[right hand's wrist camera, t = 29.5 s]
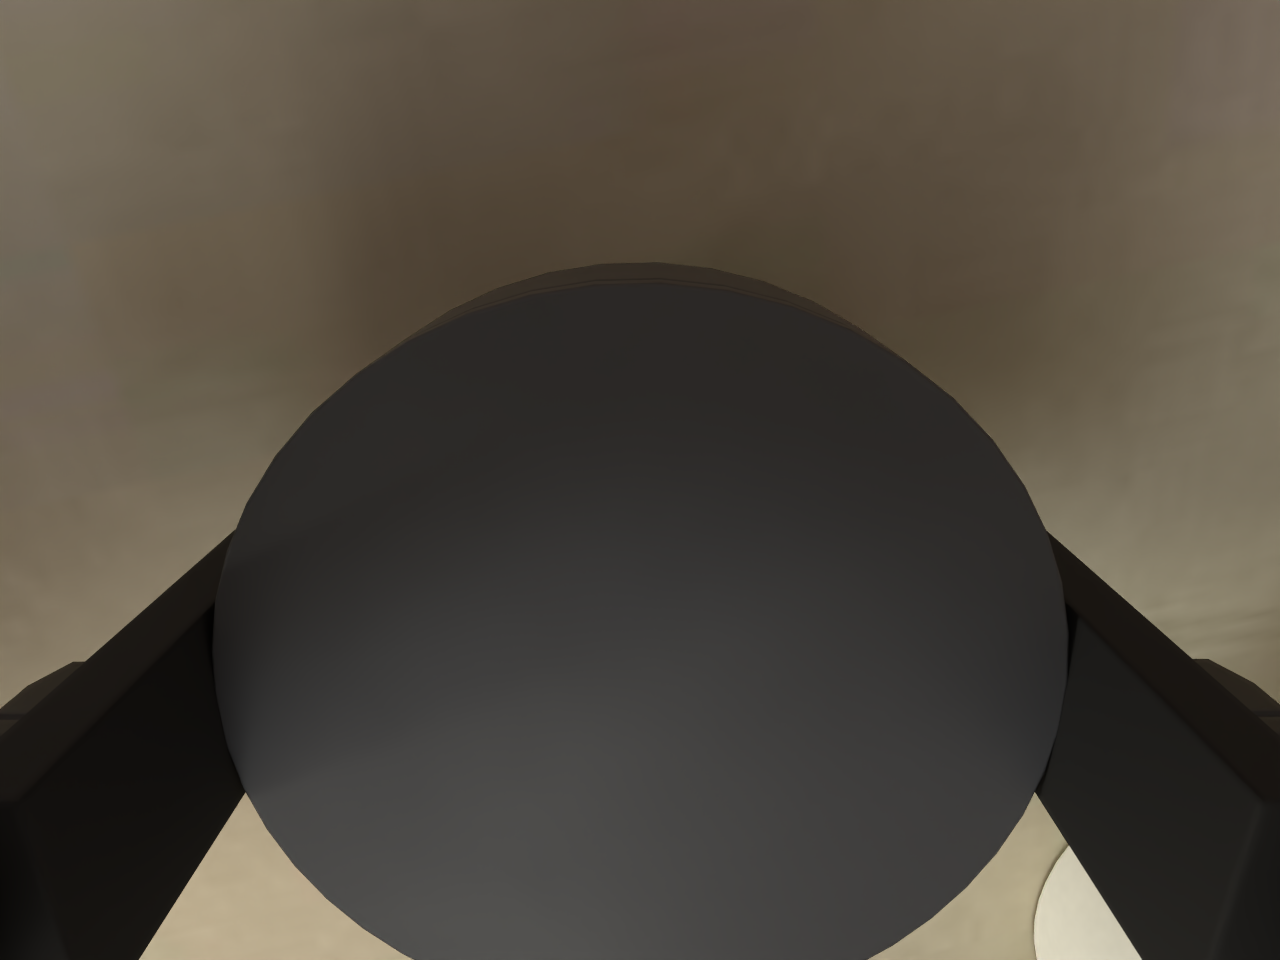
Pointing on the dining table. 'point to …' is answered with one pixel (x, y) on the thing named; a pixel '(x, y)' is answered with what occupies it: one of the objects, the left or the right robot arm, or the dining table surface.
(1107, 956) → the jar
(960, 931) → the dining table surface
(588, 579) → the lid
